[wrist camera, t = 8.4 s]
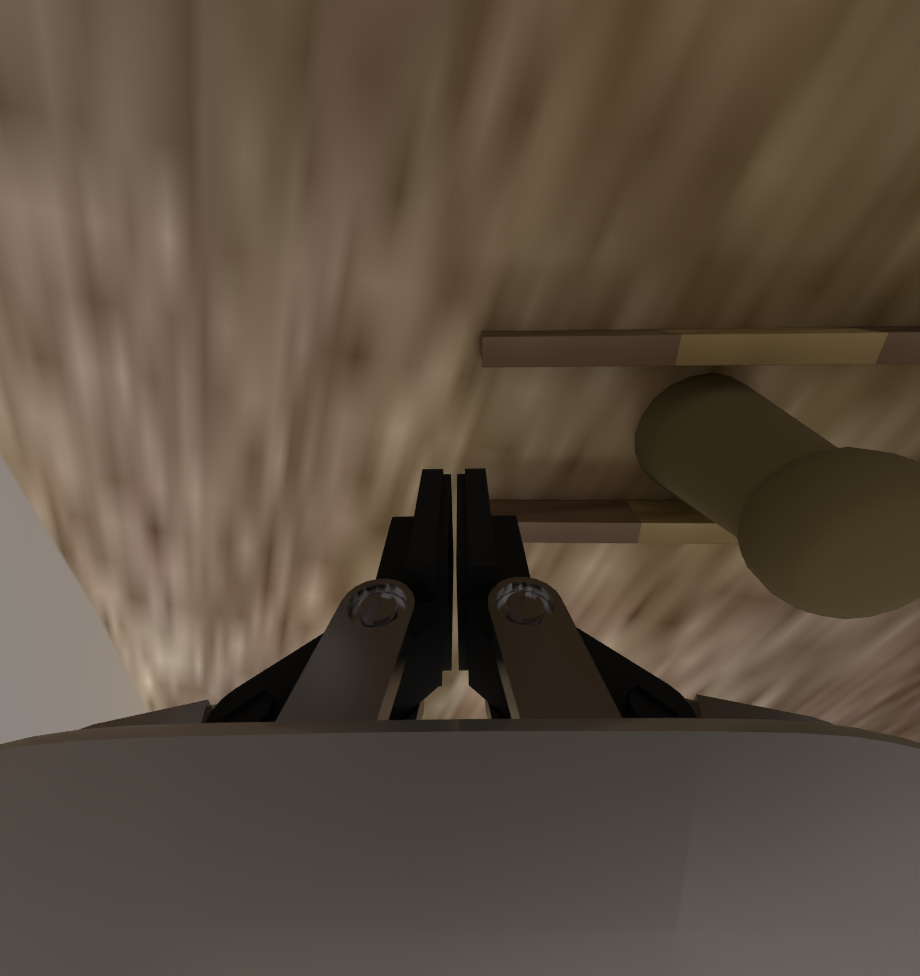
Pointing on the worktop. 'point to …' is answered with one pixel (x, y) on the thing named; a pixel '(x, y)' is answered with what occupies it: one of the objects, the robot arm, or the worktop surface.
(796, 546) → the olive brown waisted cylinder
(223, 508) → the worktop surface
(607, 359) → the slot track
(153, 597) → the worktop surface
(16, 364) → the worktop surface
